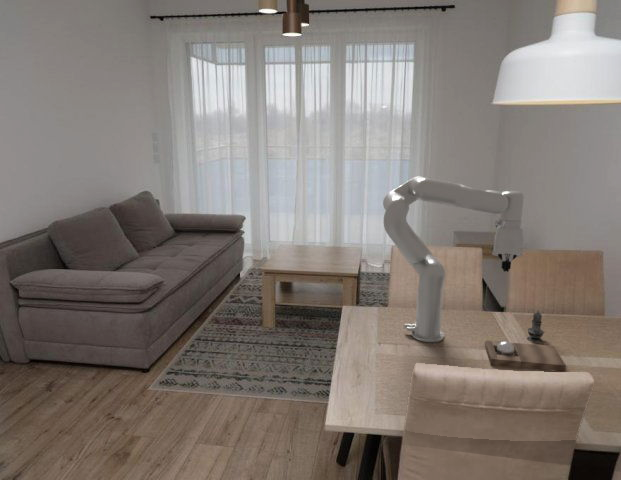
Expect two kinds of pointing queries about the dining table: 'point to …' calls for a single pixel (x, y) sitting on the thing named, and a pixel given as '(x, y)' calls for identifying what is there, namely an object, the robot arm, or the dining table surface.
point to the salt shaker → (536, 328)
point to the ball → (505, 348)
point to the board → (526, 357)
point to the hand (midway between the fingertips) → (505, 270)
